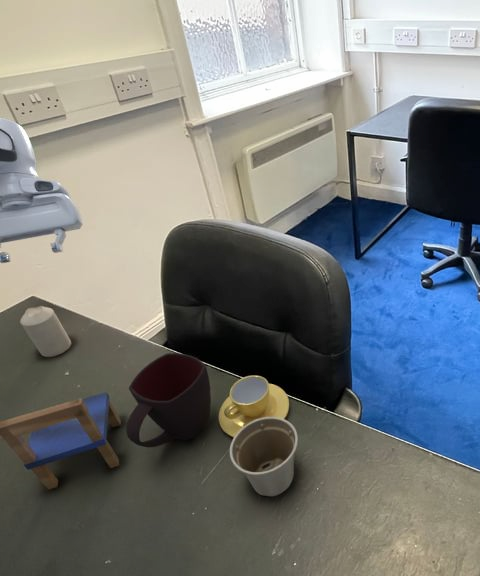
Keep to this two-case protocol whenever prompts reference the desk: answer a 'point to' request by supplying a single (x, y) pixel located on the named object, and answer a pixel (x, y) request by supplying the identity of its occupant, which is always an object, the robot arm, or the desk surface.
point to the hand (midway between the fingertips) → (31, 256)
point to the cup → (251, 403)
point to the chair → (62, 434)
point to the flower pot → (266, 454)
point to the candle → (45, 331)
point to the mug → (171, 398)
